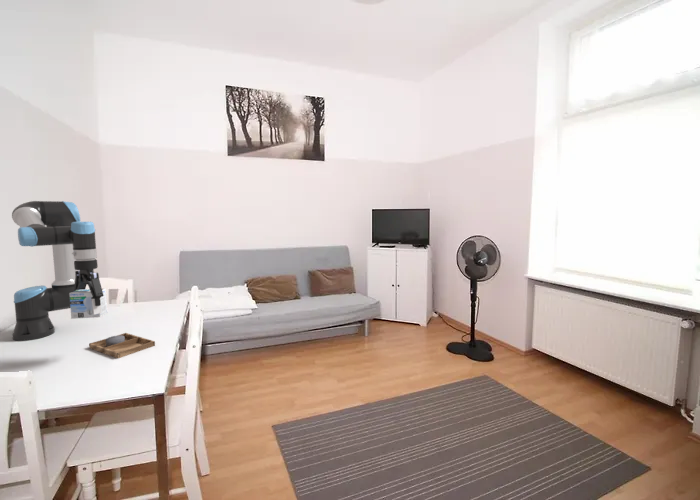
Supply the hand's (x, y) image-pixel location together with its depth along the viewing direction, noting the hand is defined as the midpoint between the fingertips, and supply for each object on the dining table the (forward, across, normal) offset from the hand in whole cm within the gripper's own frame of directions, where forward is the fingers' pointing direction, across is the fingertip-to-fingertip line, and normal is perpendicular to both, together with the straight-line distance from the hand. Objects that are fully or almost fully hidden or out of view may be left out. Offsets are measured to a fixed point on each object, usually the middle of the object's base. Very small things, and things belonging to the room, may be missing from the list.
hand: (89, 311), depth 143 cm
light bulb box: (+2, 0, 0) cm, 2 cm away
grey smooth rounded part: (+18, -4, +10) cm, 21 cm away
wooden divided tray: (+19, +2, +11) cm, 22 cm away
